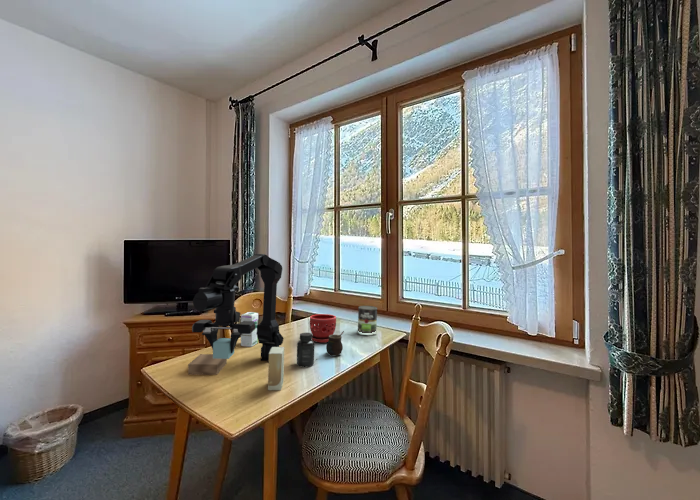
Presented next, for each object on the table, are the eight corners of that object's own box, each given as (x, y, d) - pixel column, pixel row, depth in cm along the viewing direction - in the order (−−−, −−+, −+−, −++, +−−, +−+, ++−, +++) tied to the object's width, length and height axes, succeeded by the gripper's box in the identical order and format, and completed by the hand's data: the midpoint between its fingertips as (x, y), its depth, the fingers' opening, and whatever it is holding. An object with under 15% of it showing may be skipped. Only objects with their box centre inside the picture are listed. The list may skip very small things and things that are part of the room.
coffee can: (375, 336, 159) (376, 310, 159) (356, 335, 161) (357, 308, 161) (377, 331, 169) (378, 306, 169) (358, 329, 171) (359, 305, 171)
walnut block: (226, 364, 118) (226, 354, 118) (216, 375, 108) (217, 364, 108) (200, 364, 118) (200, 354, 118) (187, 375, 108) (188, 364, 108)
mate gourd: (323, 352, 133) (324, 330, 133) (338, 350, 137) (339, 328, 137) (329, 358, 127) (330, 334, 127) (345, 356, 130) (346, 332, 130)
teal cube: (234, 353, 102) (234, 338, 102) (228, 358, 97) (228, 343, 97) (219, 352, 102) (219, 338, 102) (212, 358, 97) (213, 342, 97)
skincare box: (270, 381, 104) (271, 346, 104) (283, 381, 104) (284, 346, 104) (267, 390, 98) (268, 353, 97) (281, 390, 98) (282, 353, 98)
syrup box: (251, 347, 137) (252, 315, 137) (240, 345, 139) (240, 314, 138) (258, 343, 143) (259, 312, 143) (246, 342, 144) (247, 311, 144)
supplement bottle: (316, 362, 122) (317, 332, 122) (309, 369, 116) (310, 337, 115) (301, 359, 124) (302, 330, 124) (293, 366, 118) (294, 335, 118)
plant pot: (340, 339, 153) (341, 315, 153) (324, 346, 142) (325, 320, 142) (320, 334, 160) (320, 311, 160) (303, 340, 149) (304, 316, 149)
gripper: (260, 301, 108) (259, 345, 108) (207, 299, 108) (206, 343, 108) (250, 308, 97) (249, 356, 97) (191, 306, 97) (190, 355, 97)
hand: (223, 352), depth 100 cm, fingers closed on teal cube, 5 cm apart
